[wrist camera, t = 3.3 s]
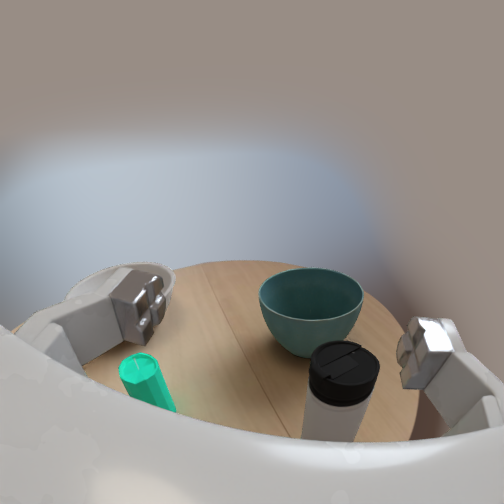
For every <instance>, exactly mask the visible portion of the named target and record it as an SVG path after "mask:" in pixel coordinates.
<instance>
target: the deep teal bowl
mask: <svg viewBox="0 0 504 504" xmlns="http://www.w3.org/2000/svg"><path fill="white" fill-rule="evenodd" d="M363 298H364V291H363V289H362V287H361V285H360V284H359V283H358V282H357V281H356V280H354V279H353V278H351V277H350V276H348V275H346V274H343V273H341V272H338V271H334V270H330V269H323V268H297V269H291V270H286V271H283V272H280V273H277V274H275V275H273V276H271V277H269V278H268V279H267V280H265V281H264V282H263V283H262V285H261V286H260V288H259V302H260V306H261V310H262V314H263V317H264V319H265V322H266V324H267V326H268V328H269V330H270V331H271V333H272V335H273V336H274V337H275V339H276V340H277V341H278V342H279V343H280V344H281V345H282V346H283V347H284V348H285V349H287V350H288V351H289V352H291V353H292V354H294V355H296V356H299V357H303V358H311V355H312V353H313V351H314V350H315V349H316V348H317V347H318V346H319V345H321V344H323V343H326V342H330V341H341V340H342V341H343V340H344V339H345V338H346V336H347V335H348V334H349V332H350V331H351V329H352V328H353V326H354V324H355V322H356V320H357V318H358V315H359V313H360V310H361V307H362V303H363Z"/></svg>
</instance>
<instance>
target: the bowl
mask: <svg viewBox="0 0 504 504" xmlns="http://www.w3.org/2000/svg"><path fill="white" fill-rule="evenodd" d="M120 267H126V268H131V269H134V270H139V271H143V272H148V273H152V274H156V275H160V276H161V277H162V278H163V283H164V287H163V289H162V290H161V292H162V293H163V295H164V296H165V298H166V310H167V308H168V305H169V303H170V299H171V296H172V289H173V286H174V284H175V280H176V278H175V274H174V272H173V271H172V270H171V269H170V268H169V267H167V266H165V265H162V264H158V263H152V262H133V263H127V264H120V265H116V266H112V267H109V268H106V269H103V270H100V271H98V272H96V273H93V274H91V275H89V276H87V277H86V278H84V279H82V280H81V281H80V282H78V283H77V284H76V285H74V286H73V287H72V288H71V289H70V291H69V292H68V293H67V295H66V297H65V299H64V301H66V300H69V299H71V298H74V297H77V296H79V295H82V294H85V293H87V292H90V291H93V292H95V291H96V290H97V289H98V288H99V287H100V286H101V285H102V284H103V283H104V282H105V281H106V280H107V279H108V278H109V277H110V276H111V275H112V274H113V273H114V272H115V271H117V270H118V269H119V268H120ZM165 312H166V311H165Z"/></svg>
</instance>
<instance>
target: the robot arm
mask: <svg viewBox="0 0 504 504" xmlns="http://www.w3.org/2000/svg"><path fill="white" fill-rule="evenodd" d="M163 287H164V283H163V278H162V277H161V276H160V275H156V274H152V273H148V272H143V271H139V270H134V269H131V268H126V267H120V268H119V269H118V270H117V271H115V272H114V273H113V274H112V275H111V276H110V277H109V278H108V279H107V280H106V281H105V282H104V283H103V284H102V285H101V286H100V287H99V288H98V289H97V290H96V291H95V292H93V291H90V292H87V293H85V294H82V295H79V296H77V297H74V298H71V299H69V300H66V301H63V302H61V303H58V304H55V305H52V306H50V307H48V308H45V309H42V310H39V311H37V312H35V313H34V314H33V315H32V316H31V317H30V318H29V319H28V320H27V321H26V322H25V323H24V324H23V325H22V326H21V327H20V328H19V329H18V330H17V331H16V332H15V333H14V334H13V333H11V332H10V331H9V330H7V329H6V328H4V327H3V326H2V325H0V504H504V384H503V383H502V382H501V381H500V380H499V379H498V378H497V377H496V376H495V375H494V374H493V373H492V372H491V371H490V370H488V369H487V368H486V367H485V366H484V365H483V364H482V363H481V362H480V361H479V360H478V359H477V358H475V357H474V356H473V355H472V354H471V353H467V351H466V349H465V347H464V345H463V342H462V340H461V338H460V335H459V333H458V331H457V329H456V327H455V325H454V323H453V321H452V320H450V319H442V318H438V319H435V318H424V317H412V319H410V321H409V323H408V325H407V328H408V332H406V333H405V334H403V335H402V336H401V338H400V340H399V342H398V346H397V350H396V357H397V363H398V364H399V365H400V366H401V367H402V370H401V372H400V377H401V382H402V387H403V389H418V390H424V392H425V393H426V395H427V396H428V398H429V399H430V400H431V402H432V403H433V405H434V406H435V407H436V409H437V410H438V412H439V413H440V415H441V416H442V417H443V419H444V420H445V422H446V423H447V425H448V426H449V427H450V429H449V430H448V431H447V432H446V433H445V434H443V435H442V436H441V437H439V438H432V439H424V440H412V441H398V442H332V441H318V440H306V439H297V438H289V437H281V436H274V435H268V434H262V433H256V432H251V431H245V430H240V429H236V428H231V427H227V426H222V425H218V424H214V423H210V422H206V421H202V420H199V419H195V418H192V417H188V416H185V415H181V414H178V413H175V412H172V411H169V410H166V409H163V408H160V407H157V406H154V405H151V404H149V403H146V402H143V401H141V400H138V399H135V398H133V397H130V396H128V395H125V394H123V393H121V392H118V391H116V390H114V389H111V388H109V387H107V386H105V385H102V384H100V383H98V382H96V381H94V380H92V379H90V378H88V377H87V375H86V373H85V371H84V369H83V367H82V366H83V365H84V364H86V363H88V362H89V361H91V360H93V359H94V358H96V357H98V356H99V355H101V354H103V353H104V352H106V351H108V350H109V349H111V348H113V347H114V346H116V345H118V344H119V343H121V342H123V340H126V341H129V342H132V343H136V344H139V345H142V346H146V344H147V343H148V341H149V340H150V338H151V337H152V335H153V334H154V330H153V327H154V326H156V325H158V324H160V323H161V321H162V319H163V318H164V314H165V311H166V298H165V296H164V295H163V293H162V292H161V290H162V289H163Z"/></svg>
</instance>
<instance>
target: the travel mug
mask: <svg viewBox="0 0 504 504" xmlns="http://www.w3.org/2000/svg"><path fill="white" fill-rule="evenodd" d="M379 369H380V364H379V361H378V359H377V358H376V357H375V356H374V355H373V354H372V353H371V352H369V351H368V350H366V349H365V348H362V347H361V345H359V344H357V343H354V342H350V341H342V340H341V341H330V342H326V343H323V344H321V345H319V346H318V347H317V348H316V349H315V350H314V351H313V353H312V355H311V362H310V368H309V378H308V386H307V395H306V404H305V412H304V420H303V428H302V435H301V439H306V440H318V441H332V442H353V440H354V438H355V436H356V434H357V431H358V429H359V426H360V424H361V422H362V419H363V417H364V414H365V412H366V409H367V406H368V404H369V401H370V398H371V395H372V392H373V390H374V385H375V382H376V379H377V376H378V373H379Z"/></svg>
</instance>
